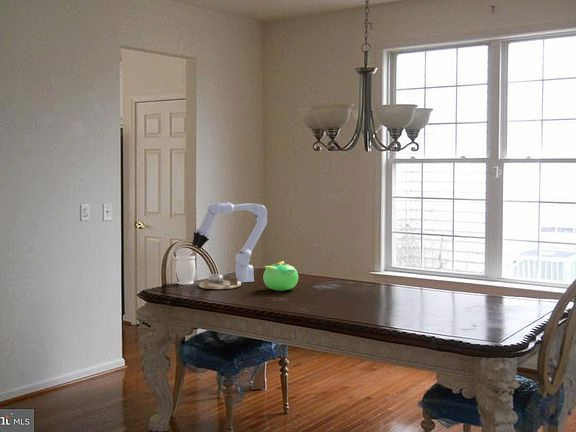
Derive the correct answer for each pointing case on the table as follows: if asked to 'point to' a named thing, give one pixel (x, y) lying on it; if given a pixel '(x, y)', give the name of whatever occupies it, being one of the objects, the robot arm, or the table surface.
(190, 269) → the jar
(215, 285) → the disc
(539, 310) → the table surface
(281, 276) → the green tomato
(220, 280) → the cover
